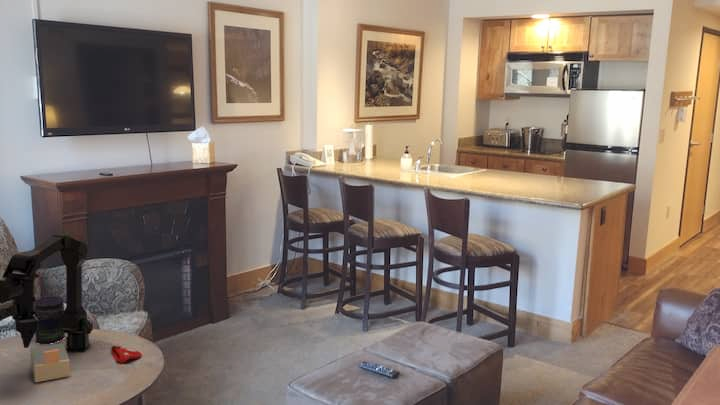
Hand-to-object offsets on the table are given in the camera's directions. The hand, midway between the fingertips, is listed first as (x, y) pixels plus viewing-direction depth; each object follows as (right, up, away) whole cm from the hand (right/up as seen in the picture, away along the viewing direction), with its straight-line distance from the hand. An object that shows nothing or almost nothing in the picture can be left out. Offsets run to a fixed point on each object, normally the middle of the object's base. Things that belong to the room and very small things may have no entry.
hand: (24, 342), depth 190 cm
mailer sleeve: (+2, -12, +11) cm, 16 cm away
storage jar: (-10, -7, +35) cm, 37 cm away
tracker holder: (+22, -11, +25) cm, 35 cm away
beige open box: (+3, -11, +10) cm, 16 cm away
